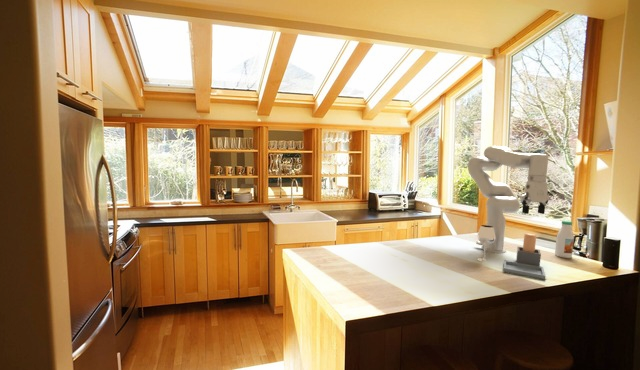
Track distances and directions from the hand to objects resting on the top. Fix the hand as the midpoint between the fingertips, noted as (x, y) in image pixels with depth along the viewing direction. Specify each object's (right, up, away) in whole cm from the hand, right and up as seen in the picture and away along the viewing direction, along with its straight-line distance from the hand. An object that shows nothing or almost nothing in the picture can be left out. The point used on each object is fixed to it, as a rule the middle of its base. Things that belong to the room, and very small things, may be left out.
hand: (533, 213), depth 161 cm
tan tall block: (-2, -26, +2) cm, 26 cm away
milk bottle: (+31, -26, +21) cm, 46 cm away
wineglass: (-21, -25, +6) cm, 34 cm away
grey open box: (-2, -26, +2) cm, 26 cm away
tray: (-10, -27, -9) cm, 30 cm away
